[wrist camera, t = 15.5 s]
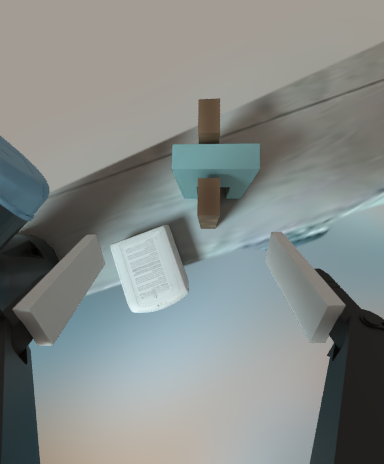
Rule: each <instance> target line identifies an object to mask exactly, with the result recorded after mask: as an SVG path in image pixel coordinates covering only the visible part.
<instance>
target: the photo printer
mask: <svg viewBox="0 0 384 464" xmlns="http://www.w3.org/2000/svg"><path fill="white" fill-rule="evenodd" d="M111 252H112V255H113V258H114V261H115V264H116V268H117V271H118V274H119V277H120V280H121V284H122V287H123V290H124V293H125V297H126V300H127V303H128V306H129V308H130V309H131V311H132V312H134V313H145V312H152V311H157V310H160V309H163V308H166V307H168V306H170V305H172V304H174V303H176V302H178V301H179V300H181V299H182V298H183V297H184V296H186V295H187V294H188V293H189V288H188V279H187V275H186V273H185V270H184V267H183V264H182V261H181V258H180V256H179V253H178V250H177V247H176V244H175V241H174V238H173V236H172V233H171V230H170V227H169V226H168V225H162V226H160V227H157V228H155V229H152V230H149V231H147V232H144V233H141V234H139V235H136V236H133V237H130V238H128V239H125V240H122V241H120V242H117V243H114V244H111Z"/></svg>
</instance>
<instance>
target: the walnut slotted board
mask: <svg viewBox="0 0 384 464" xmlns="http://www.w3.org/2000/svg"><path fill="white" fill-rule="evenodd" d="M198 120H199V121H198V136H199V144H219V137H220V99H204V100H203V99H201V100H199V119H198ZM197 216H198V219H199V223H200V227H201V229H215V228H216V225H217V222H218V220H219V217H220V178H198V213H197Z"/></svg>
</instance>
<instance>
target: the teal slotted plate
mask: <svg viewBox="0 0 384 464" xmlns="http://www.w3.org/2000/svg"><path fill="white" fill-rule="evenodd" d="M171 169H172V172H173V174H174V176H175V179H176V181H177V183H178V186H179V188H180V190H181V193H182V195H183V197H184V198H198V178H220V187H226V199H241V198H242V196H243V195H244V193H245V191H246V190H247V188H248V187H249V185H250V184H251V182H252V181H253V179H254V178H255V176H256V174H257V173H258V171H259V170H260V143H258V144H174V145H173V146H172V167H171Z"/></svg>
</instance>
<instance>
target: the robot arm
mask: <svg viewBox="0 0 384 464" xmlns="http://www.w3.org/2000/svg"><path fill="white" fill-rule="evenodd" d="M48 196H49V186H48V183H47V181H46V179H45V178H44V176H43V175H42V174H41V173H40V172H39V170H38V169H37V168H36V167H35V166H34V165H33V164H32V163H31V162H30V161H29V160H28V159H27V158H26V157H25V156H23V155H22V154H21V153H20V152H19V151H18V150H17V149H16V148H14V147H13V146H12V145H11V144H10V143H8V142H7V141H6V140H5V139H3V138H2V137H1V136H0V464H40V457H39V445H38V433H37V421H36V409H35V397H34V386H33V374H32V362H31V350H30V348H29V346H28V345H29V343H30V342H31V341H32V339H34V341H35V342H36V344H37V345H38V346H46V345H47V346H48V345H49V346H50V345H53V344H54V343H55V341H56V340H57V338H58V337H59V335H60V334H61V332H62V330H63V329H64V327H65V326H66V324H67V323H68V321H69V319H70V318H71V316H72V315H73V313H74V312H75V310H76V309H77V307H78V306H79V304H80V302H81V301H82V299H83V298H84V296H85V295H86V293H87V291H88V290H89V288H90V287H91V285H92V284H93V282H94V281H95V279H96V277H97V276H98V274H99V273H100V271H101V270H102V268H103V267H104V265H105V261H104V258H103V255H102V251H101V248H100V245H99V241H98V238H97V235H86V236H85V237H84V238H83V239H82V240H81V241H80V242H79V243H78V244H77V245H76V246H75V247H74V248H73V249H72V250H71V251H70V252H69V253H68V254H67V255H66V256H65V257H64V258H63V259H62V260H61V261H60V262H58V259H57V256H56V254H55V252H54V251H53V249H52V248H51V247H50V246H49V245H48V244H47V243H46V242H44V241H43V240H41V239H39V238H37V237H34V236H28V235H16V234H17V233H18V231H19V230H20V229H21V228H22V227H23V226H24V225H25V224H26V223H27V222H28V221H31V220H32V219H33V218H34V214H35V213H36V211H37V210H38V209H39V208H40V207H41V205H42V204H43V203H44V202H45V201H46V199H47V198H48ZM265 262H266V264H267V266H268V267H269V270H270V271H271V273H272V275H273V277H274V279H275V280H276V282H277V284H278V286H279V288H280V289H281V291H282V293H283V295H284V297H285V298H286V300H287V302H288V304H289V306H290V308H291V309H292V311H293V313H294V315H295V316H296V318H297V320H298V322H299V324H300V326H301V327H302V329H303V331H304V333H305V335H306V336H307V338H308V340H309V342H310V343H325V342H326V340H327V338H328V337H329V335H330V337H331V338H332V340H333V341H334V344H333V346H332V348H331V349H330V351H329V353H328V354H327V356H329V357H330V360H329V365H328V370H327V376H326V381H325V386H324V391H323V397H322V402H321V407H320V412H319V418H318V423H317V428H316V434H315V439H314V444H313V449H312V454H311V460H310V464H384V320H383V319H382V318H381V317H379V316H378V315H376V314H374V313H372V312H370V311H367V310H364V309H361V308H360V307H359V306H358V305H357V304H356V303H355V302H354V301H353V300H352V299H351V298H350V297H349V295H348V294H346V292H345V291H344V290H343V289H342V288H340V286H339V285H338V284H337V283H336V282H335V281H334V280H333V279H332V278H331V276H330V275H329V274H327V273H325V272H324V271H323V270H321V269H314V268H313V267H312V266H311V265H310V264H309V263H308V261H307V260H306V259H305V258H304V257H303V256H302V255H301V254H300V252H299V251H298V250H297V249H296V248H295V247H294V245H293V244H292V243H291V242H290V241H289V240H288V239H287V237H286V236H285V235H284V234H283V233H282V232H271V237H270V241H269V246H268V251H267V255H266V260H265Z"/></svg>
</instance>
